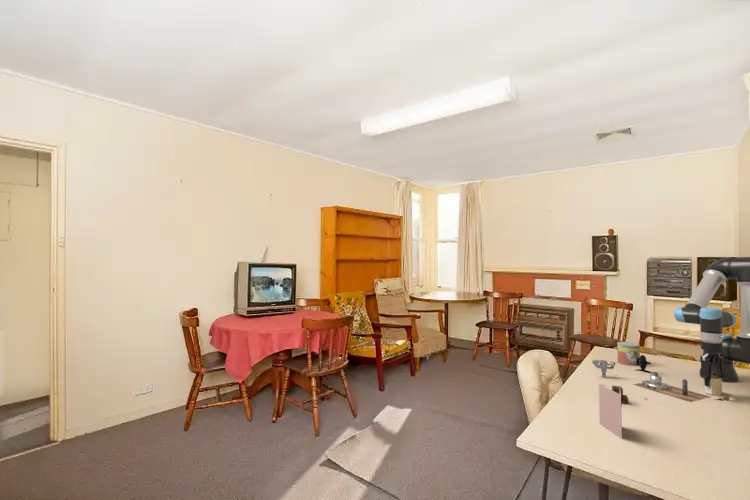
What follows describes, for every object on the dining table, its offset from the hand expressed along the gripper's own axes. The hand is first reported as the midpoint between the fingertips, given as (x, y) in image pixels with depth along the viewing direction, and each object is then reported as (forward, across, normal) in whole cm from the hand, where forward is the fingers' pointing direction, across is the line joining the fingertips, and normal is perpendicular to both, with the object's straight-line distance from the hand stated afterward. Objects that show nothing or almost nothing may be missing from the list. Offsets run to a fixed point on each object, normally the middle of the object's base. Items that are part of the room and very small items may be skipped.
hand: (712, 392), depth 167 cm
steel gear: (0, -14, +16) cm, 21 cm away
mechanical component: (+2, -24, +34) cm, 42 cm away
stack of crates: (+3, -47, +13) cm, 49 cm away
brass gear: (+2, 0, 0) cm, 2 cm away
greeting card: (+2, -78, -6) cm, 78 cm away
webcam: (+2, +8, +34) cm, 35 cm away
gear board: (+2, -14, +10) cm, 17 cm away
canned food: (+2, +20, +50) cm, 55 cm away
